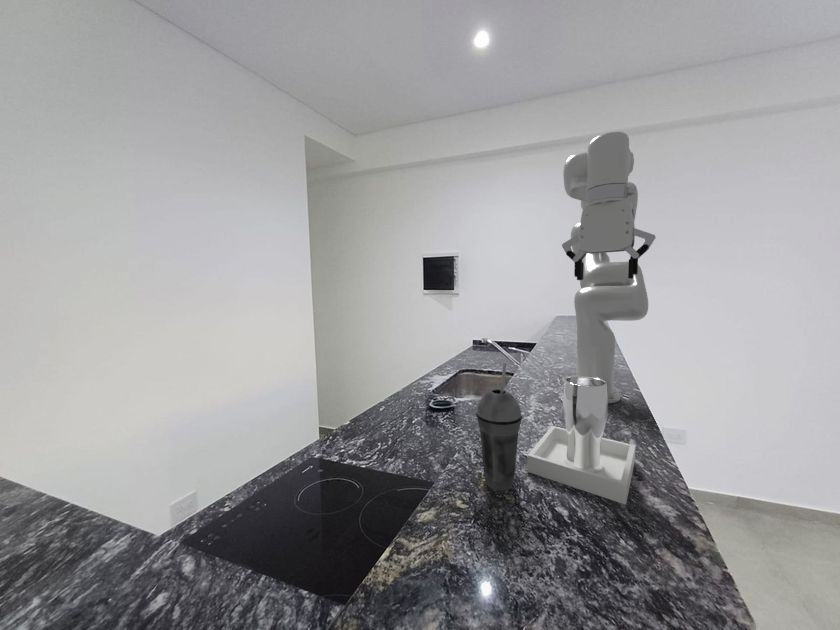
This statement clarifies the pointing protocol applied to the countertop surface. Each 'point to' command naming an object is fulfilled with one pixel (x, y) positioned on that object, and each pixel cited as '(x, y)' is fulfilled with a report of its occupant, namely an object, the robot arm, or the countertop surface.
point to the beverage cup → (499, 435)
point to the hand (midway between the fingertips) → (604, 279)
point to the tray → (605, 483)
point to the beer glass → (585, 421)
